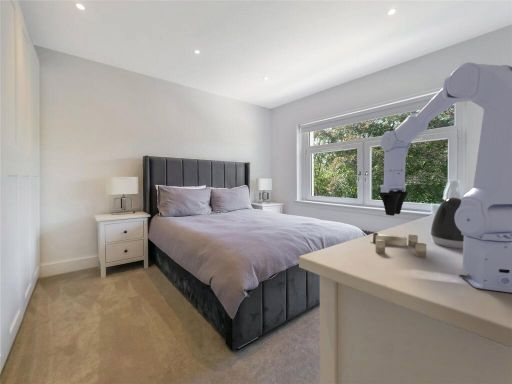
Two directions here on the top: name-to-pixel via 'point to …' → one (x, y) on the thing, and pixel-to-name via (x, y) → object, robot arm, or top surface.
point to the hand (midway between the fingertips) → (393, 214)
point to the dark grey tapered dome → (447, 224)
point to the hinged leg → (391, 239)
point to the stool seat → (412, 242)
